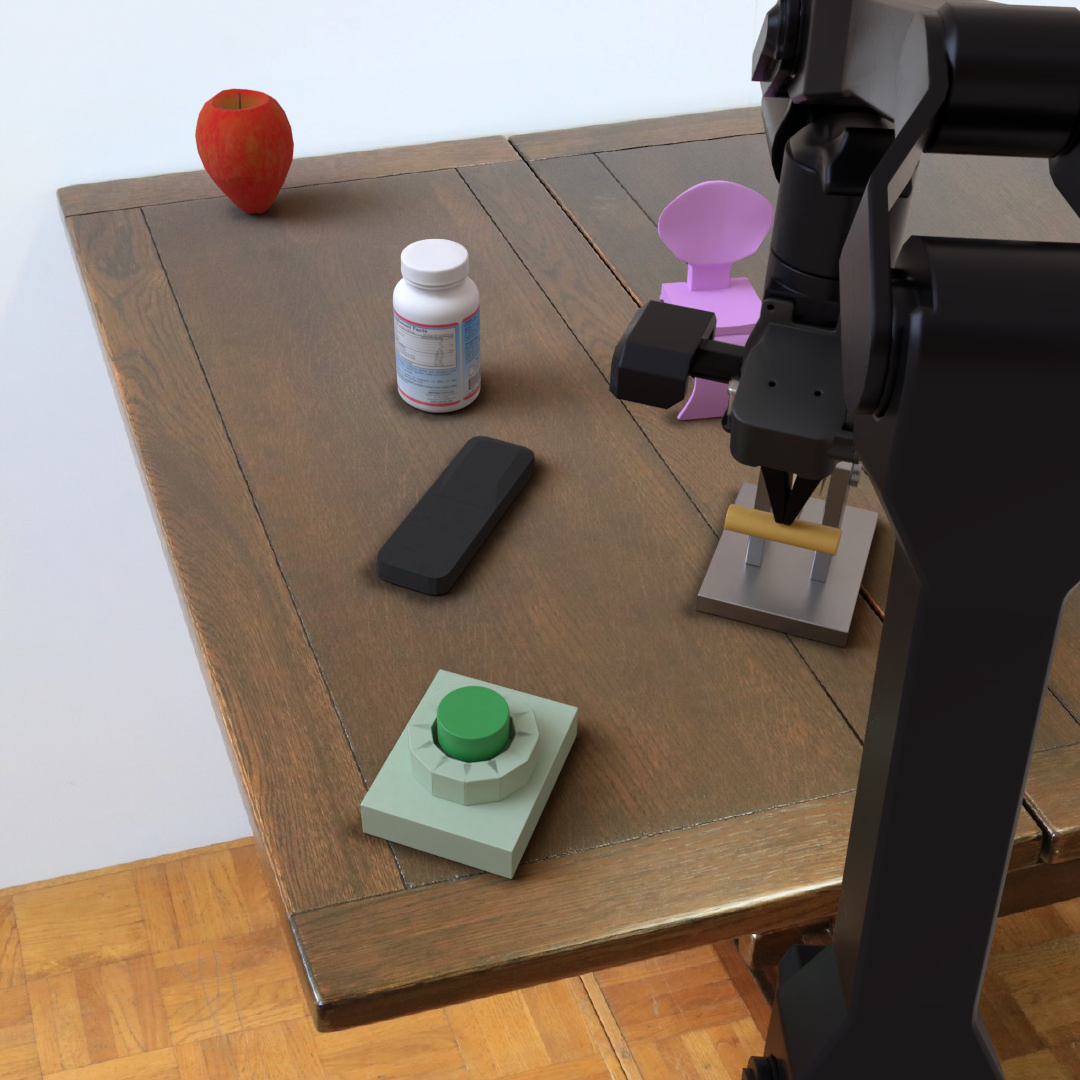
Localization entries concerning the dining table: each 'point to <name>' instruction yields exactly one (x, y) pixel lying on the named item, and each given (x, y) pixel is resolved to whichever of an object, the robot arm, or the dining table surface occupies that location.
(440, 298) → the pill bottle
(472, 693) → the button
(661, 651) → the dining table surface
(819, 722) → the dining table surface
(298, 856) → the dining table surface
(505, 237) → the dining table surface
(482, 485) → the remote control
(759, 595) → the latch bracket
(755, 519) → the latch lever
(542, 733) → the push button base
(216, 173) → the apple
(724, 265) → the toy chair
